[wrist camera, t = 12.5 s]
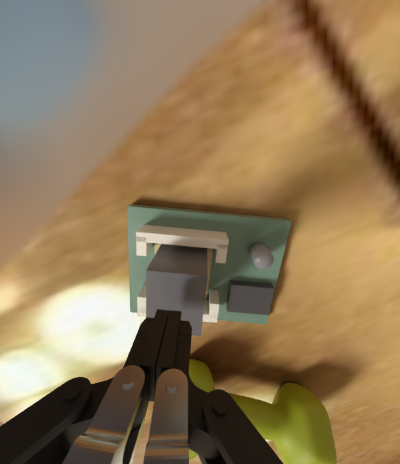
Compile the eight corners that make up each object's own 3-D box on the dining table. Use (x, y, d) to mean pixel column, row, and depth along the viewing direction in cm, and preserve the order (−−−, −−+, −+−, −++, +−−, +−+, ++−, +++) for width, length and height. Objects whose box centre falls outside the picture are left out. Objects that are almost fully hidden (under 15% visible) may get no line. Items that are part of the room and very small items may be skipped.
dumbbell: (315, 374, 24) (359, 458, 17) (287, 414, 26) (316, 502, 19) (185, 341, 23) (177, 417, 16) (168, 386, 25) (155, 469, 18)
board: (287, 218, 18) (302, 228, 15) (263, 317, 21) (272, 340, 18) (131, 204, 17) (117, 211, 15) (133, 305, 21) (122, 327, 18)
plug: (207, 246, 17) (207, 276, 13) (201, 297, 19) (200, 341, 14) (162, 242, 17) (146, 270, 13) (160, 294, 19) (145, 336, 14)
